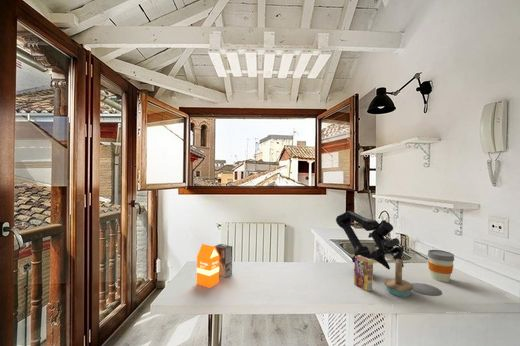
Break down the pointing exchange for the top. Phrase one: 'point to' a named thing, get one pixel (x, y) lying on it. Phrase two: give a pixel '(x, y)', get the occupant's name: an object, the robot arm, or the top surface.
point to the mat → (426, 289)
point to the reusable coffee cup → (440, 265)
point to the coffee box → (224, 259)
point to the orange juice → (207, 266)
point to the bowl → (398, 292)
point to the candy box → (363, 272)
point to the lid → (398, 279)
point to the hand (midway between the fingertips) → (396, 268)
